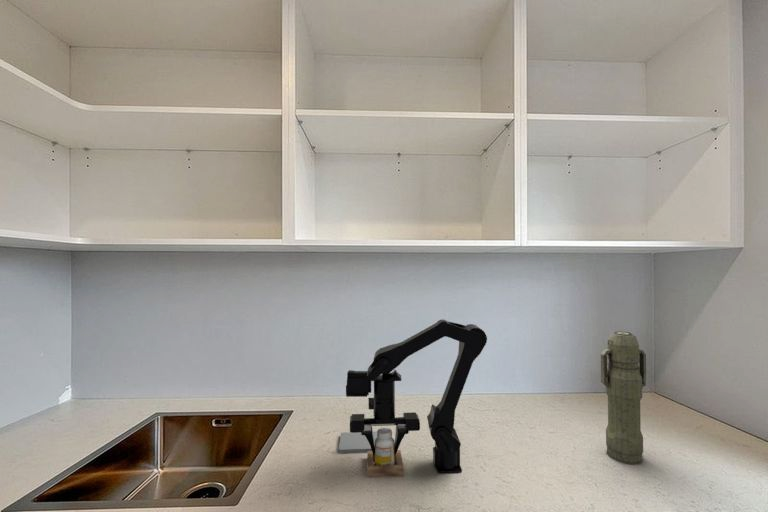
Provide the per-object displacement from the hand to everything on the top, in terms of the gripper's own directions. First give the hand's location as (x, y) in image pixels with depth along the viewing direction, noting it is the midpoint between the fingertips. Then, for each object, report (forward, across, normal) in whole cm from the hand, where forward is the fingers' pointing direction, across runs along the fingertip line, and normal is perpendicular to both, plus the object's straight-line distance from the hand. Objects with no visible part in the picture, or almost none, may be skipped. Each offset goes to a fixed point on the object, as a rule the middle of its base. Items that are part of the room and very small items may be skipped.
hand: (384, 453), depth 104 cm
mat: (+4, +7, -14) cm, 16 cm away
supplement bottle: (+4, 0, 0) cm, 4 cm away
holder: (+4, 0, 0) cm, 4 cm away
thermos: (+4, -68, -1) cm, 68 cm away
